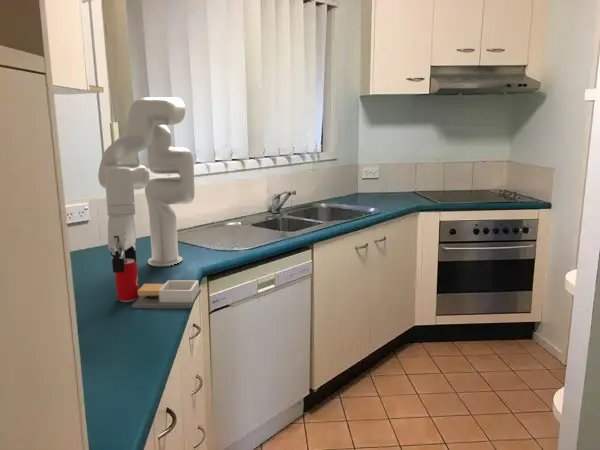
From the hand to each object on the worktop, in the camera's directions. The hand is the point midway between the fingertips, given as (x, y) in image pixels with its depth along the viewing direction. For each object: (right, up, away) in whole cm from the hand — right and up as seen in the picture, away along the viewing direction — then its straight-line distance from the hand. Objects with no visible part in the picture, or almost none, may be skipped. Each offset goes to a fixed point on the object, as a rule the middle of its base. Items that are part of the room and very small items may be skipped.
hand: (125, 267), depth 148 cm
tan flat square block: (+7, -8, +2) cm, 11 cm away
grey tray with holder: (+11, -10, +2) cm, 15 cm away
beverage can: (0, -10, +3) cm, 10 cm away
